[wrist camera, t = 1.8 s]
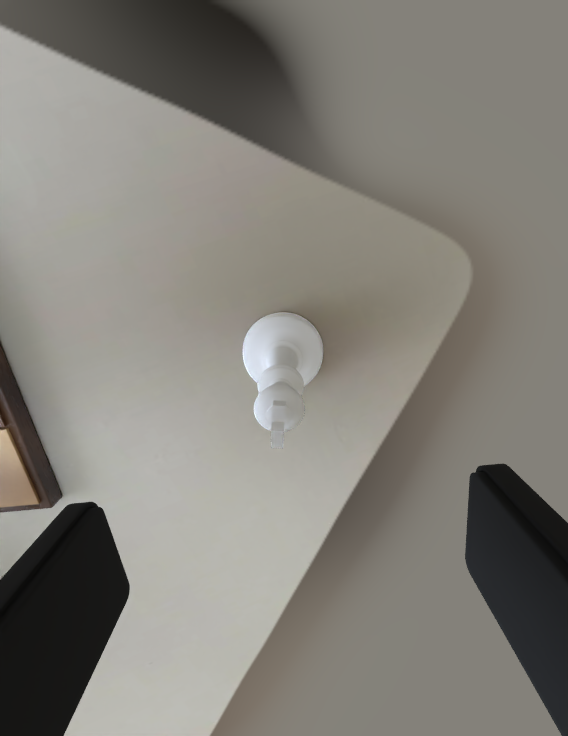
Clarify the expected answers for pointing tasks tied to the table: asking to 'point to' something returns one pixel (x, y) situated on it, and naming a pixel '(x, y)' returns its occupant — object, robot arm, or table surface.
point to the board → (21, 453)
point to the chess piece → (281, 369)
